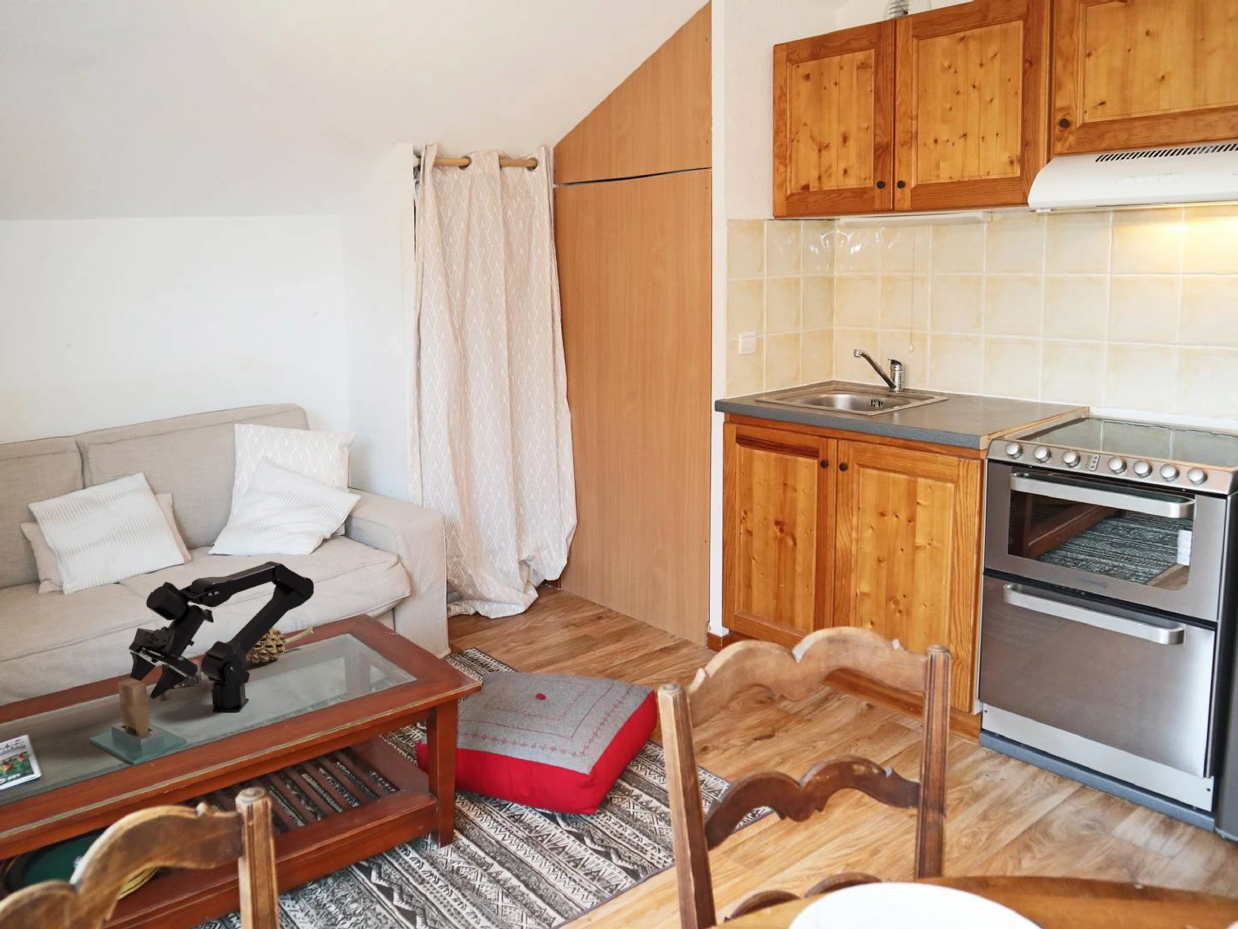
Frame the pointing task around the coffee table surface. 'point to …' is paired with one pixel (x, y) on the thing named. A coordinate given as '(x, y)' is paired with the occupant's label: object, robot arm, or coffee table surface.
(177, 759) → the coffee table surface
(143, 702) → the tan cardboard brick
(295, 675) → the coffee table surface
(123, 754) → the teal holder base
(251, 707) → the coffee table surface
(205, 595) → the robot arm
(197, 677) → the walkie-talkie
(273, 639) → the dried banksia seed pod
